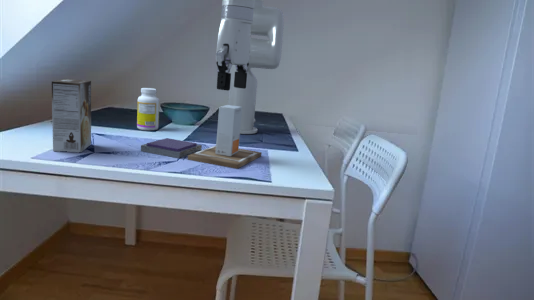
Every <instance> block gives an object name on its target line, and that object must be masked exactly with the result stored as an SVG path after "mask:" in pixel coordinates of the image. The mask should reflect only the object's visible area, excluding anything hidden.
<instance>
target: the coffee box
mask: <svg viewBox="0 0 534 300" xmlns="http://www.w3.org/2000/svg"><path fill="white" fill-rule="evenodd" d="M51 113H52V114H51V118H52V119H51V120H52V122H51V124H52V151H53V152H60V151H67V152H66V153H79V152H81V153H82V152H83V151H85V150H86V149H87V148H88V147H89V146H90V145H92V80H82V79H73V78H72V79H71V78H62V79H59V80H58V79H57V80H53V81H51Z"/></svg>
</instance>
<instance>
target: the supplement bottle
mask: <svg viewBox="0 0 534 300" xmlns="http://www.w3.org/2000/svg"><path fill="white" fill-rule="evenodd" d="M140 92H141V95H139V96H138V98H137V101H136V102H137V103H136V104H137V110H136V112H137V113H136V115H137V116H136V128H137V129H138V130H142V131H156V130H159V125H160V124H159V123H160V120H159V119H160V98H158V97H157V95H156V94H157V92H158V91H157V89H156V88H153V87H142V88H140Z"/></svg>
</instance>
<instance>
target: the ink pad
mask: <svg viewBox="0 0 534 300" xmlns="http://www.w3.org/2000/svg"><path fill="white" fill-rule="evenodd" d="M202 147H203V146H202V144H198V143H197V142H192V141H191V142H190V141H186V140H180V139H174V138H167V137H166V138H162V139H158V140H155V141H150V142H147V143H143V144H140V152H142V153H148V154H155V155H158V156H159V155H160V156H164V157H170V158H176V159H181V158H182V159H183V158H184V157H188V155H190V154H193V153H196V152H199V151H202Z"/></svg>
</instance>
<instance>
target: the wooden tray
mask: <svg viewBox="0 0 534 300" xmlns="http://www.w3.org/2000/svg"><path fill="white" fill-rule="evenodd" d="M215 153H216V145H213V146H210V147H208V148H205V149H201V151H199V152H196V153H193V154H190V155H188V156H187V160H188V161H194V162H200V163H205V164H210V165H214V166H215V165H216V166H221V167H227V168H231V169H236V170H237V169H239V168H241V167H243V166H245V165H247V164H249V163H251V162H254V161H256V159H259V158H260V157H262V154H263V153H262V152H260V151H255V150H250V149H243V148H238V153H236V154H234V155H232V156H224V155H218V154H215Z"/></svg>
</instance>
